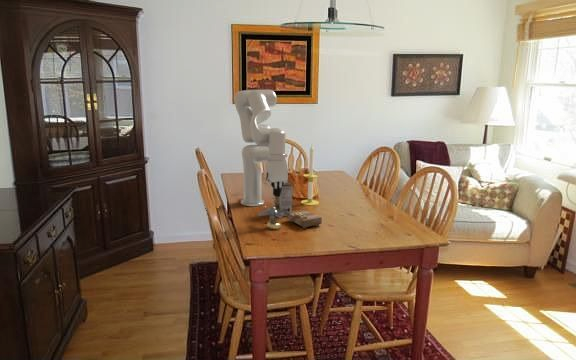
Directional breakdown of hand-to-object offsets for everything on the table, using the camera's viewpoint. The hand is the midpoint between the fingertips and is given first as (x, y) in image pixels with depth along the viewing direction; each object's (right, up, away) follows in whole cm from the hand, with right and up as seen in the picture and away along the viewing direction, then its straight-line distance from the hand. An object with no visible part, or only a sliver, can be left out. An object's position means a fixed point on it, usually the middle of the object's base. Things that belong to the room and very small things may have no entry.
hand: (276, 196), depth 215 cm
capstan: (-2, -14, -4) cm, 15 cm away
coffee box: (+3, -10, +17) cm, 19 cm away
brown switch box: (+13, -13, +2) cm, 19 cm away
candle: (+17, -5, +36) cm, 40 cm away
